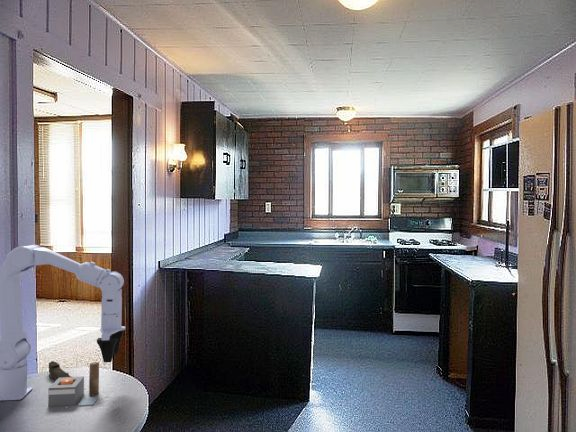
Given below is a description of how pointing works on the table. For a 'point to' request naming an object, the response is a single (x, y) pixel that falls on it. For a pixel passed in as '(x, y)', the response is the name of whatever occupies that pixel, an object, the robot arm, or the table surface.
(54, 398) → the gray hollow box
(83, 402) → the pad
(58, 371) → the brown rough rod
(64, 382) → the orange rounded piece
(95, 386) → the wooden rod
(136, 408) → the table surface
